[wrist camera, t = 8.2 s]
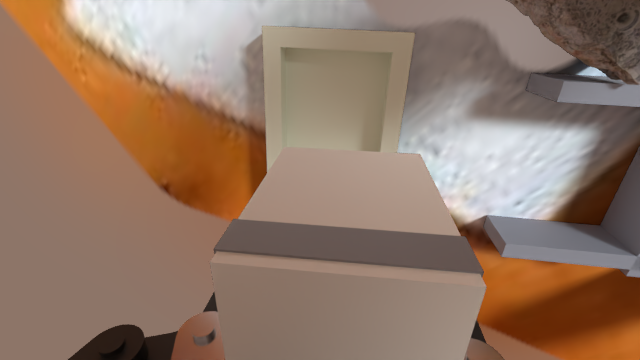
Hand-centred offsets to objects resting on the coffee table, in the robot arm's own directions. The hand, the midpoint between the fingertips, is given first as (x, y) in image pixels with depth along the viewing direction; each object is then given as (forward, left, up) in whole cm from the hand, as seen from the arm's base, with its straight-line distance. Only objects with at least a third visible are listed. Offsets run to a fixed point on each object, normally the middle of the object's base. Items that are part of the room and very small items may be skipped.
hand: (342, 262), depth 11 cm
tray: (-1, -2, -16) cm, 16 cm away
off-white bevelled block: (0, 0, -1) cm, 1 cm away
